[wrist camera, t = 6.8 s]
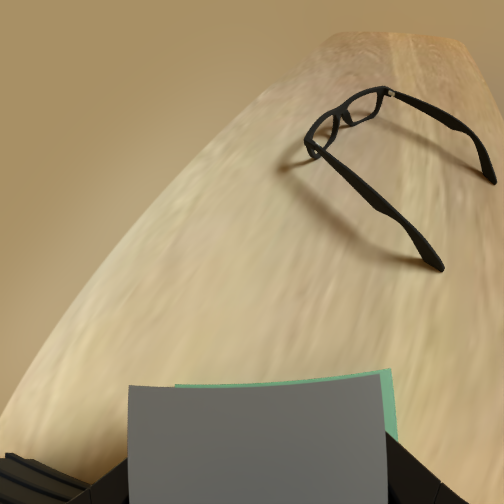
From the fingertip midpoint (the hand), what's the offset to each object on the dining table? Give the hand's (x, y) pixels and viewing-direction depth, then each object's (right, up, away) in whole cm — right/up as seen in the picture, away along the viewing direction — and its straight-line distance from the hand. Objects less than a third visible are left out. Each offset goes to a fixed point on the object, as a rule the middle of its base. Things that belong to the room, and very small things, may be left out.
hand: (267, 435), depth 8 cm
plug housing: (+1, -5, +5) cm, 7 cm away
